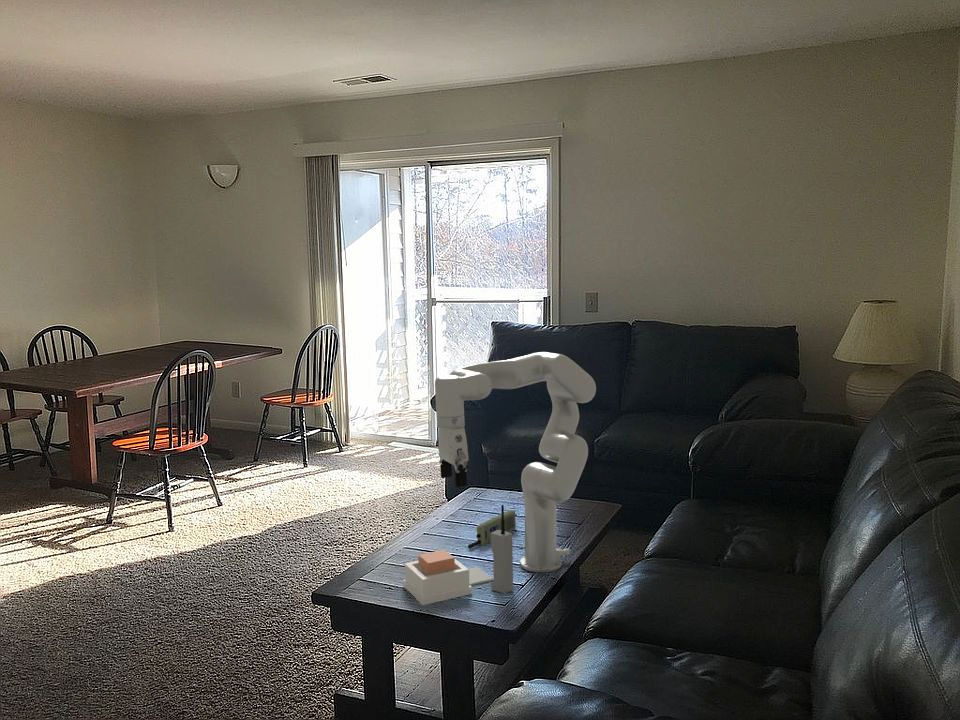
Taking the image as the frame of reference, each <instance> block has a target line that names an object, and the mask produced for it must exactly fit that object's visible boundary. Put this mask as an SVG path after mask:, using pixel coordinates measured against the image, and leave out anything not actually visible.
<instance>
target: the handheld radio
mask: <svg viewBox="0 0 960 720" xmlns="http://www.w3.org/2000/svg"><path fill="white" fill-rule="evenodd" d="M501 521H502V513H500V514H499V515H497V516H495V517H492V518H490V519H489V520H486V521H484V522H482V523H479V524H476V526H475V528H476V533H477V534H476V536H475V537H476V539H477V541H475V542H472V543H470V544H468V545H467V548H468V549H469V550H471V549H473V548H474V547H477V546H478V545H479V544H480V545H479V546H485V545H487V544H489V543H491V542H490V541H491V536H490V533H492V532H494V531H496V530H501ZM516 524H517V523H516V510H515V509H510V510H507V511H505V512H504V531H505V532H509V533H511V532H512V531H514V530H516V529H517V525H516ZM488 542H489V543H488ZM484 544H485V545H484Z"/></svg>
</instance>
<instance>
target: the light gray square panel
mask: <svg viewBox="0 0 960 720" xmlns="http://www.w3.org/2000/svg"><path fill="white" fill-rule="evenodd" d="M468 569H469V585H470V586H471V587H472V586H476V585H479V584H484V583H488V582H493V581H494V577H493V576H491V575H489V574H488V573H487V572H485V571H484V570H482V569H481V568H480V567H478V566H474V567H470V568H468Z"/></svg>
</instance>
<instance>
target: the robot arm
mask: <svg viewBox="0 0 960 720" xmlns="http://www.w3.org/2000/svg"><path fill="white" fill-rule="evenodd" d="M434 380H435V381H434V393H435V411H436V415H435V416H436V427H437V428H438V436H437V438H438V445H437V450H438V456H439V463H440V464H439V465H440V468H439V469H440V478H441V479H445V478H451V477H453V468H452V467H454V470H455V472H454V485H455V487H456V488H461V487H466V486H468V479H467V478H468V477H467V471H468V469H467V468H468V461H469V451H468V449H469V447H468V442H467V434H466V429H465V424H466V423H465V407H464V403H465V401H479V400H483V399H485V398H487V397H488V396H489V395H490V394H491V392H492V389H499V390H514V389H518V388H522V387H525V386H529V385H534V384H536V383H540V382H546V388H547V392H548V394H549V396H550V400H551V403H552V404H551V405H552V409H551V410H552V411H551V415H550V418H549V421H548V423H547V425H546V427H545V429H544V432H543V435H542V437H541V440H540V443H539V446H538V452H539V454H540V456H541V457H542V458H543V459H545V460H548V461H550V462H554V463H557V464H556V466H554V465H551V464H548V463H544V462H540V461H534V462H530V463H528V464H526V466H525V467H524V468H523V469H522V472H521V475H520V476H521V477H520V482H521V483H520V484H521V489H522V493H523V500H524V556H523V557H521V559H520V560H519V566H520V567H521V568H522V569H524V570H526V571H529V572H533V573H551V572H554V571H557V570H559V569H560V568H561V567H562V560H561V558H562V557H563V556H568V555H570V554H571V550H570V548H563V549H562V547H557V505H556V502H557V503H562V502H563V503H564V502H565V501H568V500H569V499H570V498H571V496H572V495H573V494H574V492H575V490H576V488H577V485H578V483H579V480H580V478H581V476H582V474H583V471H584V469H585V467H586V466H585V465H586V463H587V460H588V457H589V446H588V443H587V441H586V440H585V439H584V438H583V437H582V436H581V435H578V434H575V433H576V430H577V427H578V425H579V422H580V411H579V405H578V404H577V403H579V404H586V403H589V402H591V401H592V400H593V399H594V398H595V395H596V392H597V386H596V382H595V380H594V378H593V377H592V376H591V375H590V374H589V373H588V372H586V371H585V370H584V368H582V367H581V366H580V365H579V364H577V363H576V362H575V361H574V360H572V359H571V358H570V357H568V356H567V355H564V354H563V353H555V352H548V351H539V352H538V351H537V352H532V353H530V354H526V355H523V356H518V357H514V358H510V359H509V358H508V359H506V360H505V359H503V360H495V361H490V362H480V363H475V364H470V365H466V366H462V367H459V368H456V369H454V370H453V371H451V372H450V373H449V374H446V375H441V376H440V375H439V376H438V377H437V378H435V379H434Z"/></svg>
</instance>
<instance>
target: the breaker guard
mask: <svg viewBox="0 0 960 720" xmlns="http://www.w3.org/2000/svg"><path fill="white" fill-rule="evenodd" d="M402 587H403V588H404V589H405V590H406V589H407V590H406V591H407V592H408V591H409V592H410V593H411V594H412V595H413V596H414V597H415V598H416V601H417V602H418V603H420V605H422V606H426V605H429V604H434V603H438V602H442V601H447V600H451V598H452V599H454V598H455V599H456V598H459V597H464V596H467V595H472V594H473V587H472V585H471V586H470V585H469V568H468V567H466V566H465V565H464V564H463V563H461V562H460V561H459V560H457V559H456V558H455V568H452V569H448V570H443V571H438V572H434V573H429V574H428V573H427V572H426V571H425V570H424V569H423V568H421V567H420V566H419V564H418V560H415V561H414V560H413V561H410V562H406V563H404V579H403V580H402ZM409 592H408V593H409ZM410 593H409V594H410ZM411 594H410V595H411ZM412 595H411V596H412ZM413 596H412V597H413ZM414 597H413V598H414ZM415 598H414V599H415Z"/></svg>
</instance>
